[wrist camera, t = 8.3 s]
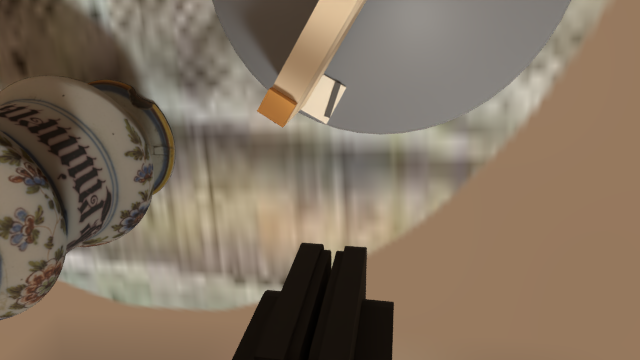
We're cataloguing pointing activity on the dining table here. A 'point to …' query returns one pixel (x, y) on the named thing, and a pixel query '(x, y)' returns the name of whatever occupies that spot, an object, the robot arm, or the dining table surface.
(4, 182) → the apothecary jar
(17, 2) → the dining table surface
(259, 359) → the robot arm
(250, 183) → the dining table surface
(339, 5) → the tan knob handle
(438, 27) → the dial base
